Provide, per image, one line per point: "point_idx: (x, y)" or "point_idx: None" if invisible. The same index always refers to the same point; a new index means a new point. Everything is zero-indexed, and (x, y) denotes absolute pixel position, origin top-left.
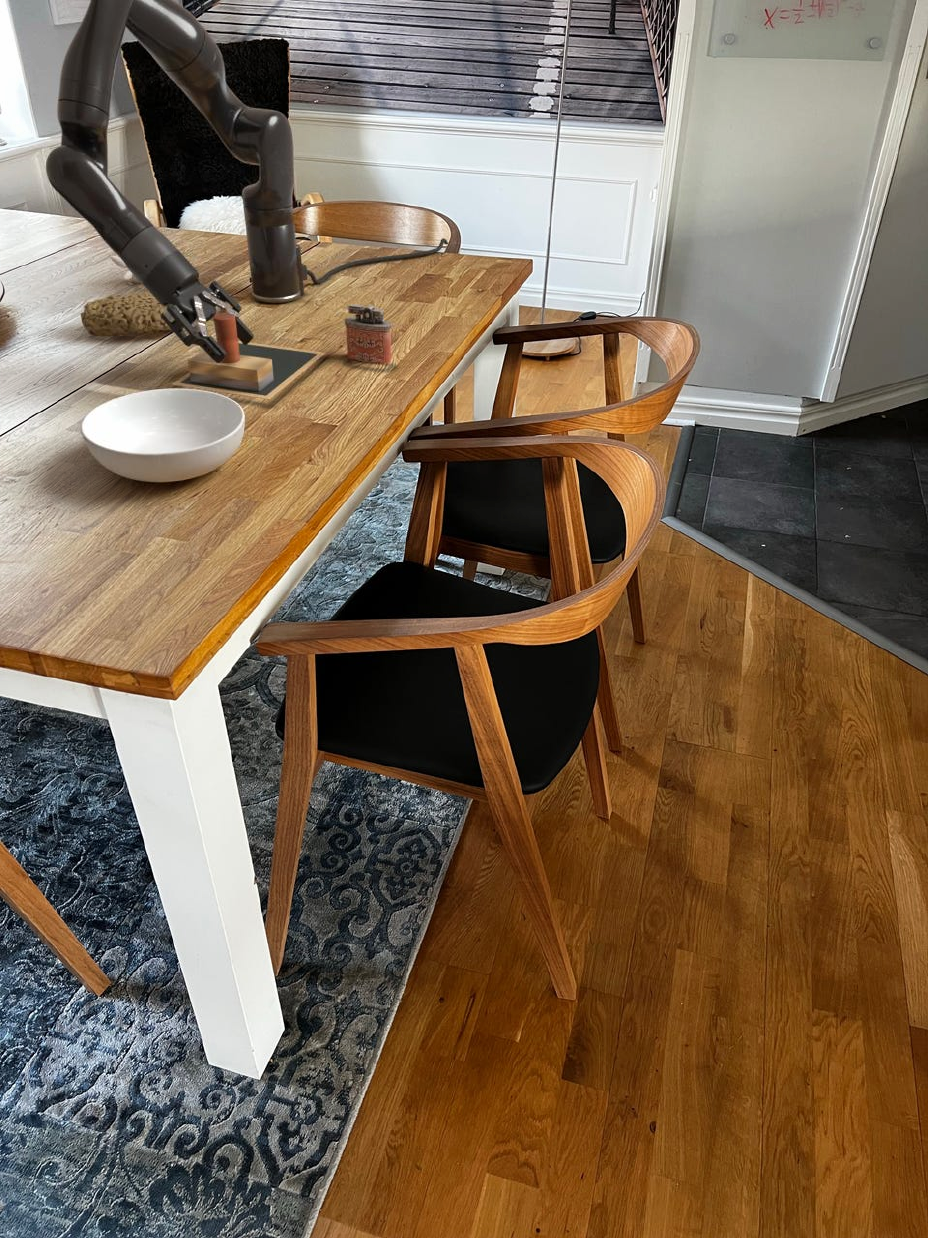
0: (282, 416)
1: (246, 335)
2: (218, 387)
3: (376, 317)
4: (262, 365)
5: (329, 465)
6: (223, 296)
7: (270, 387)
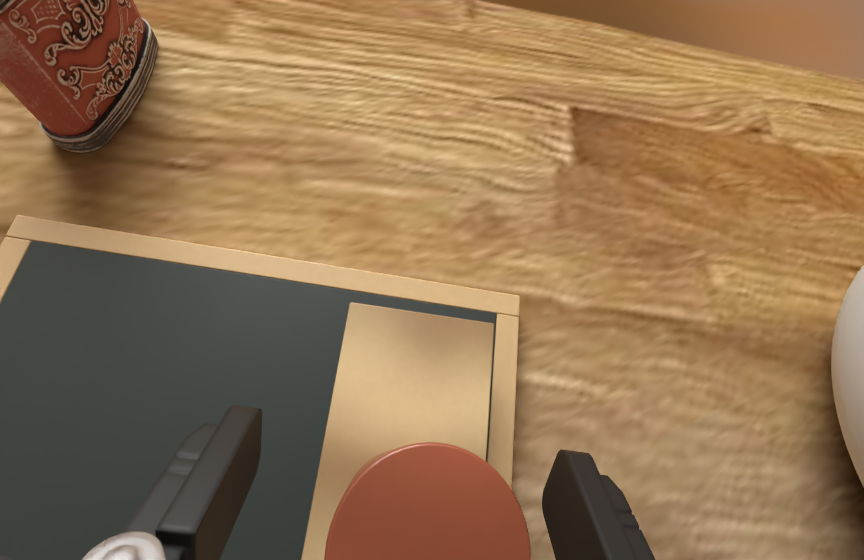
0: (566, 246)
1: (248, 447)
2: None
3: None
4: (437, 317)
5: (754, 93)
6: None
7: None
